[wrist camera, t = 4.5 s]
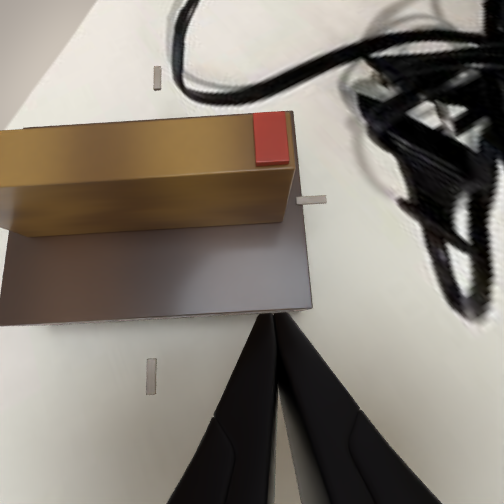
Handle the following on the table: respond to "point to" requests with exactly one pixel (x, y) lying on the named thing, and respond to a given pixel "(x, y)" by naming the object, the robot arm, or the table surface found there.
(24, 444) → the table surface
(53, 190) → the tan wooden plank
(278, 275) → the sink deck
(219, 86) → the table surface
